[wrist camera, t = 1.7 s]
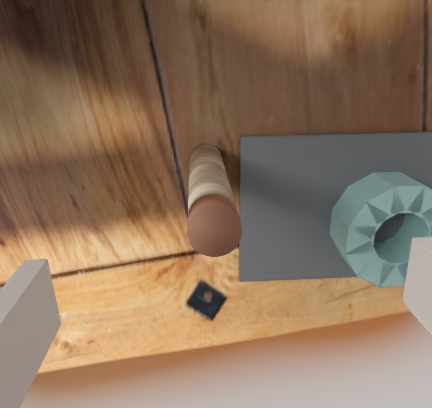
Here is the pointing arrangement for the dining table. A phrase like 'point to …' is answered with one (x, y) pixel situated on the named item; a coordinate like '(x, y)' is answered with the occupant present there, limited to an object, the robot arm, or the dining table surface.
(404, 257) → the bead
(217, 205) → the dowel
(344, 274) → the mat
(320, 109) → the dining table surface
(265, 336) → the dining table surface
